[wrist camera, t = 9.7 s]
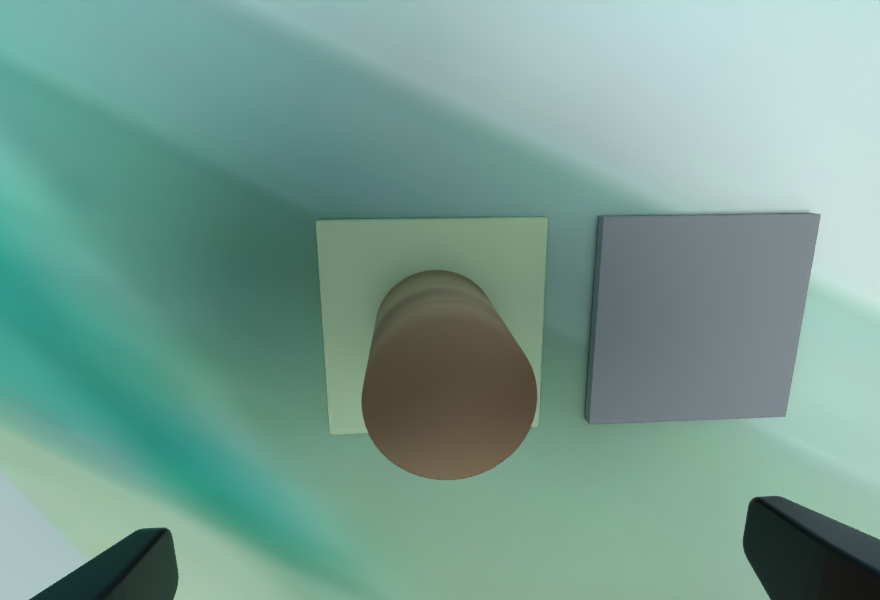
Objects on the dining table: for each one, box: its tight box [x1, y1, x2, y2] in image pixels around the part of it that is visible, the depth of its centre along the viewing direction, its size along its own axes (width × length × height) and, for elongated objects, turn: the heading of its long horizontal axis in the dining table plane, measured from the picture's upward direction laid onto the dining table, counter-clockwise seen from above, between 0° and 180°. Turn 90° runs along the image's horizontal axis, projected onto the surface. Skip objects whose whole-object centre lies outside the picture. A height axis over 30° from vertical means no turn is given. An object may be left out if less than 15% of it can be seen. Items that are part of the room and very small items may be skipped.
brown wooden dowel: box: [361, 270, 537, 480], centre depth 16 cm, size 4×4×6 cm
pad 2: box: [585, 213, 821, 424], centre depth 19 cm, size 8×8×1 cm
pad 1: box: [316, 217, 548, 435], centre depth 19 cm, size 8×8×1 cm
